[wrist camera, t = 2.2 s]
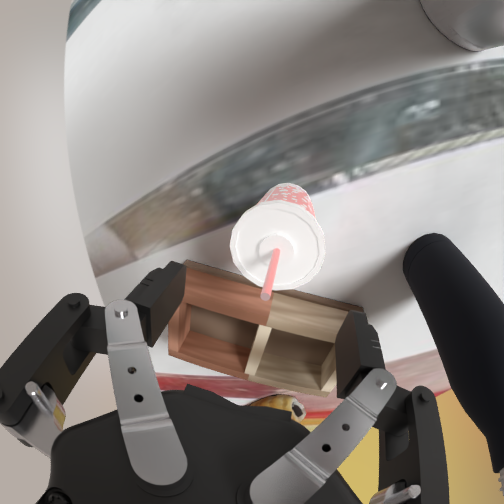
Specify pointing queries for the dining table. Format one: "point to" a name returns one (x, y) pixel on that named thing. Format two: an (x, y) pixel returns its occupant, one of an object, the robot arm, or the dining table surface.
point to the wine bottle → (463, 332)
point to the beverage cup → (279, 240)
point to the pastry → (284, 405)
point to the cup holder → (257, 331)
